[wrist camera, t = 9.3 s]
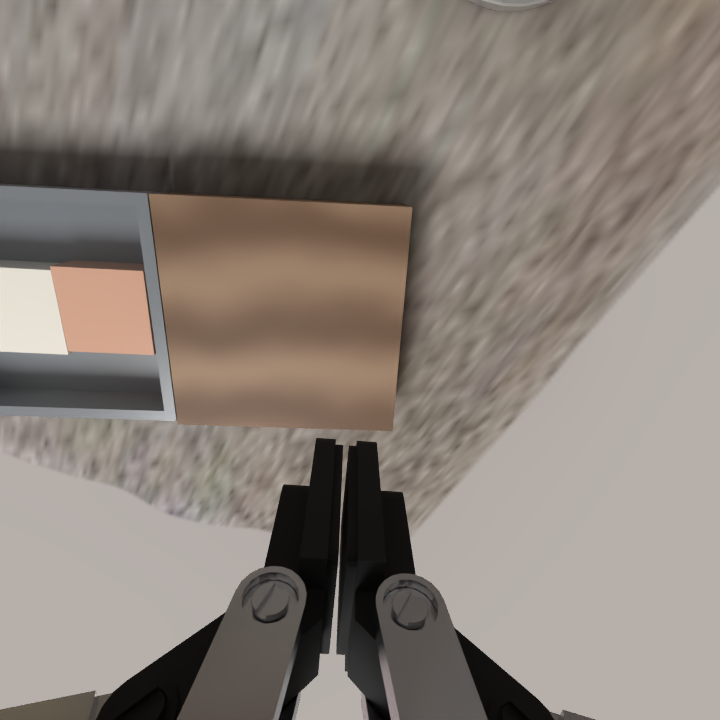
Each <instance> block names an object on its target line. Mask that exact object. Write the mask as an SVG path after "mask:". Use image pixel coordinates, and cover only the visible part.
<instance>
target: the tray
mask: <svg viewBox="0 0 720 720" xmlns="http://www.w3.org/2000/svg"><path fill="white" fill-rule="evenodd" d="M152 193H169V192H154V191H135V190H116V189H96V188H77V187H58V186H38V185H19V184H0V260H15V261H33V262H51V263H64V262H67V261H71V260H81V261H100V262H119V263H138V264H144V269H145V276H146V284H147V291H148V298H149V305H150V312H151V319H152V327H153V334H154V341H155V348H156V354H155V355H140V354H117V353H94V352H72V353H70V354H69V355H63V354H42V353H21V352H0V415H5V416H38V417H70V418H103V419H135V420H168V421H177V413H176V405H175V397H174V389H173V381H172V373H171V366H170V358H169V350H168V342H167V334H166V326H165V319H164V311H163V303H162V295H161V287H160V279H159V272H158V264H157V256H156V248H155V240H154V232H153V225H152V217H151V209H150V201H149V194H152Z"/></svg>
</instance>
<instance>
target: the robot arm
mask: <svg viewBox="0 0 720 720" xmlns="http://www.w3.org/2000/svg"><path fill="white" fill-rule="evenodd" d="M469 1H470V2H472V3H475V4H477V5H480V6H482V7H485V8H487V9H490V10H498V11H506V12H514V11H523V10H530V9H533V8H536V7H539V6H542V5H545V4H548V3H550V2H552V1H553V0H469ZM335 443H336V439H323V438H316V444H315V451H314V458H313V465H312V472H311V479H310V486H299V485H283V488H282V492H281V496H280V500H279V505H278V509H277V513H276V518H275V522H274V527H273V531H272V535H271V540H270V544H269V549H268V553H267V557H266V562H265V566H264V568H260V569H258V570H256V571H254V572H252V573H250V574H249V575H248V576H247V577H246V578H245V579H244V580H242V581H241V583H240V584H239V586H238V588H237V589H236V591H235V593H234V595H233V598H232V600H231V602H230V604H229V607H228V609H227V611H226V612H225V613H224V614H223V615H221V616H220V617H218V618H217V619H215V620H214V621H212V622H211V623H209V624H208V625H207V626H205V627H204V628H202V629H201V630H199V631H198V632H197V633H195V634H194V635H192V636H191V637H189V638H188V639H186V640H185V641H184V642H182V643H181V644H179V645H178V646H176V647H175V648H173V649H172V650H171V651H169V652H168V653H166V654H165V655H163V656H162V657H160V658H159V659H158V660H156V661H155V662H153V663H152V664H150V665H149V666H148V667H146V668H145V669H143V670H142V671H140V672H139V673H137V674H136V675H134V676H133V677H132V678H130V679H129V680H127V681H126V682H125V683H124V684H122V685H121V686H120V687H119V688H118V689H117V690H115V691H114V692H113V693H111V694H106V695H101V696H97V693H96V691H92V692H86V693H81V694H76V695H71V696H66V697H61V698H56V699H52V700H47V701H41V702H36V703H31V704H26V705H21V706H17V707H11V708H7V709H2V710H0V720H295V718H296V714H297V709H298V705H299V701H300V692H301V690H302V689H304V688H305V686H307V685H308V684H309V683H310V682H311V681H312V680H313V679H314V678H315V677H316V676H317V675H318V669H319V657H320V653H321V654H329V648H330V638H331V628H332V617H333V608H334V597H335V587H336V577H337V567H338V553H339V531H340V507H341V482H342V458H343V445H335ZM337 624H338V626H337V654H341V655H345V671H348V677H349V678H350V679H351V680H352V682H354V683H355V685H356V686H357V687H358V688H359V689H360V691H361V703H362V711H363V718H364V720H595V719H591V718H588V717H585V716H582V715H578V714H575V713H572V712H568V711H565V710H563V711H562V712H561V714H560V715H559V714H555V713H552V712H549V710H547V708H546V707H545V706H544V705H543V704H542V703H541V702H540V701H539V700H538V699H537V698H536V697H535V696H533V695H532V694H531V693H530V692H529V691H528V690H527V689H525V688H524V687H523V686H522V685H521V684H520V683H518V682H517V681H516V680H515V679H514V678H513V677H511V676H510V675H509V674H508V673H507V672H505V671H504V670H503V669H502V668H501V667H499V666H498V665H497V664H496V663H495V662H494V661H493V660H491V659H490V658H489V657H488V656H487V655H486V654H484V653H483V652H482V651H481V650H480V649H479V648H477V647H476V646H475V645H474V644H473V643H472V642H470V641H469V640H468V639H467V638H466V637H465V636H463V635H462V634H461V633H460V632H459V631H458V630H456V629H455V628H454V626H453V624H452V621H451V619H450V615H449V613H448V610H447V607H446V604H445V602H444V600H443V598H442V596H441V594H440V592H439V591H438V590H437V589H436V587H434V585H433V584H432V583H430V582H429V581H427V580H426V579H424V578H422V577H420V576H417V575H415V568H414V562H413V555H412V549H411V543H410V535H409V529H408V522H407V515H406V509H405V502H404V496H403V493H402V492H392V491H381V489H380V476H379V464H378V452H377V443H376V442H366V441H357V444H356V446H349V451H348V461H347V471H346V481H345V492H344V502H343V512H342V523H341V543H340V570H339V597H338V623H337Z"/></svg>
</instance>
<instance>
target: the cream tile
mask: <svg viewBox="0 0 720 720" xmlns="http://www.w3.org/2000/svg"><path fill="white" fill-rule="evenodd" d="M56 264H60V263H51V262H33V261H15V260H0V352H21V353H42V354H63V355H69V354H70V353H72V352H71V351H68V348H67V344H66V339H65V334H64V330H63V325H62V320H61V316H60V311H59V306H58V302H57V297H56V292H55V288H54V283H53V278H52V274H51V269H50V266H53V265H56Z"/></svg>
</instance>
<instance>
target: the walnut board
mask: <svg viewBox="0 0 720 720" xmlns="http://www.w3.org/2000/svg"><path fill="white" fill-rule="evenodd" d="M149 201H150V209H151V217H152V225H153V232H154V240H155V248H156V256H157V264H158V272H159V279H160V287H161V295H162V303H163V311H164V319H165V326H166V334H167V342H168V350H169V358H170V366H171V373H172V381H173V389H174V397H175V405H176V413H177V420H178V424H184V425H216V426H249V427H282V428H315V429H348V430H380V431H392V429H393V418H394V407H395V396H396V385H397V374H398V363H399V352H400V341H401V330H402V319H403V308H404V297H405V286H406V275H407V263H408V252H409V241H410V230H411V219H412V208H413V207H410V206H408V205H405V204H386V203H366V202H347V201H328V200H309V199H289V198H270V197H251V196H231V195H212V194H193V193H152V194H149Z"/></svg>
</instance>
